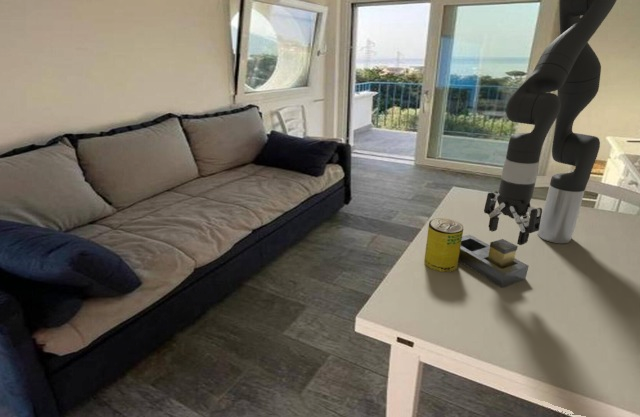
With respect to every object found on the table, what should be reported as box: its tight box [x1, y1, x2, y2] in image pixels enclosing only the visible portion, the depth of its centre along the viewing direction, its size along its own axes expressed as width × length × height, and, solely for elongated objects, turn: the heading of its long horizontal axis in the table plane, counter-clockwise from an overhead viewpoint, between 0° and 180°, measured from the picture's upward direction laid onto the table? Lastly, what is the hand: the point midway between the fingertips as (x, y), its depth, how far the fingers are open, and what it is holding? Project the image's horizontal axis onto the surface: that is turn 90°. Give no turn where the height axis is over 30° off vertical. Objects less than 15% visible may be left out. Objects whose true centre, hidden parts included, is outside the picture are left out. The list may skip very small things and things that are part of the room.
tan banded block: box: [488, 238, 519, 269], centre depth 100 cm, size 5×5×9 cm
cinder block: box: [458, 234, 529, 288], centre depth 105 cm, size 9×20×4 cm, turn 26°
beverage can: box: [423, 217, 464, 273], centre depth 105 cm, size 9×9×12 cm
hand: (506, 237), depth 98 cm, fingers open, 8 cm apart
